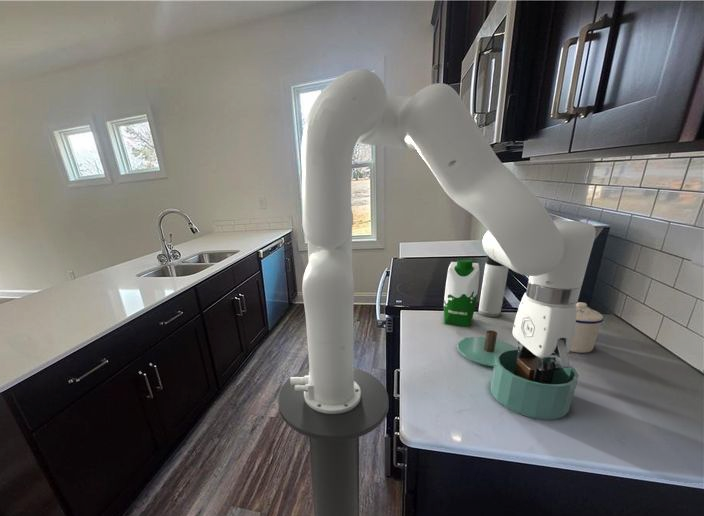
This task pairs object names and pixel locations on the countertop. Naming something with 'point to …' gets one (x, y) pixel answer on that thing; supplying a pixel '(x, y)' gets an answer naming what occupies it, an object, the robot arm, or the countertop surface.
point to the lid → (483, 348)
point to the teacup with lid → (585, 328)
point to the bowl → (532, 389)
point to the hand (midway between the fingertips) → (531, 376)
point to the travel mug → (493, 288)
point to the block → (526, 367)
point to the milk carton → (461, 292)
